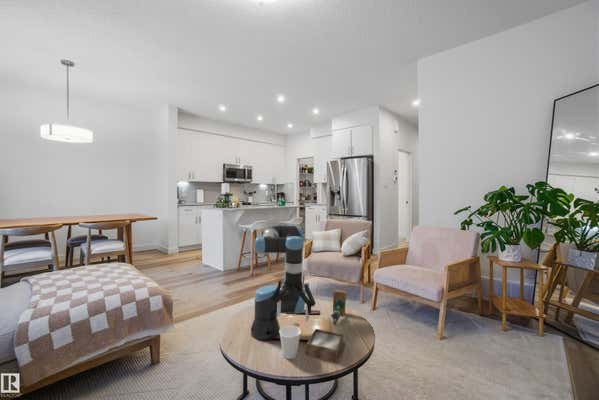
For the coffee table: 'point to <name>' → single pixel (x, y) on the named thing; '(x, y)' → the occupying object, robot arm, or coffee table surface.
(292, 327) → the cup
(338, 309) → the figurine
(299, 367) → the coffee table surface
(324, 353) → the brown box
